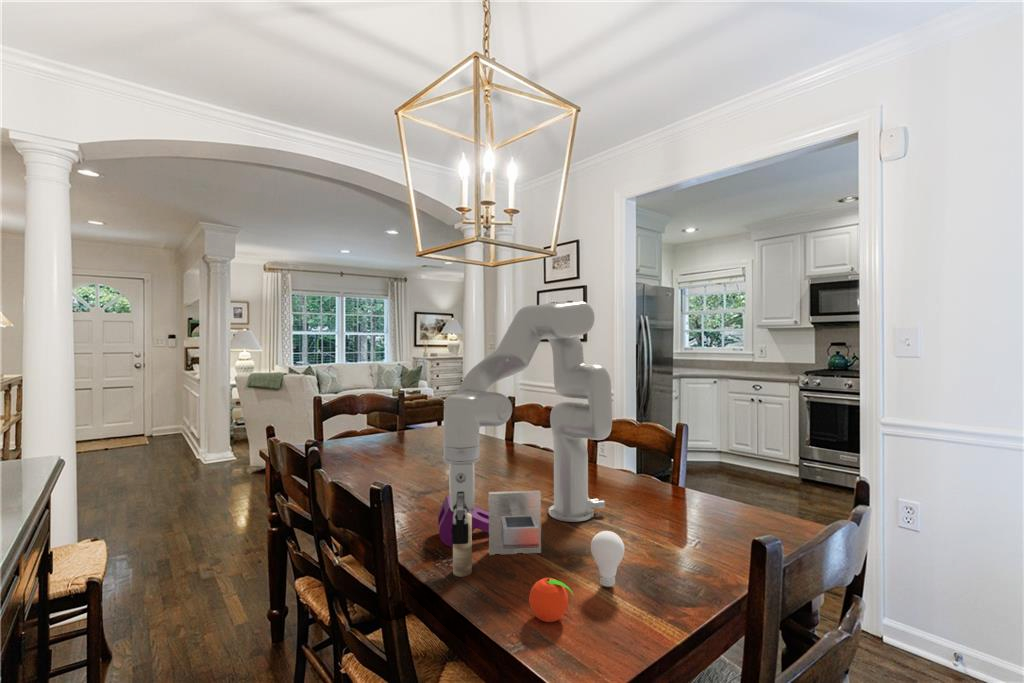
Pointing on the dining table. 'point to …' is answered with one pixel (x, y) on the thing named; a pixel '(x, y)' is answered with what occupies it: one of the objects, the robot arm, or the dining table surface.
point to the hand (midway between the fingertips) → (460, 534)
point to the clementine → (549, 599)
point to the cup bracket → (514, 522)
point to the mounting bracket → (446, 519)
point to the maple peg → (463, 553)
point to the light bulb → (607, 555)
